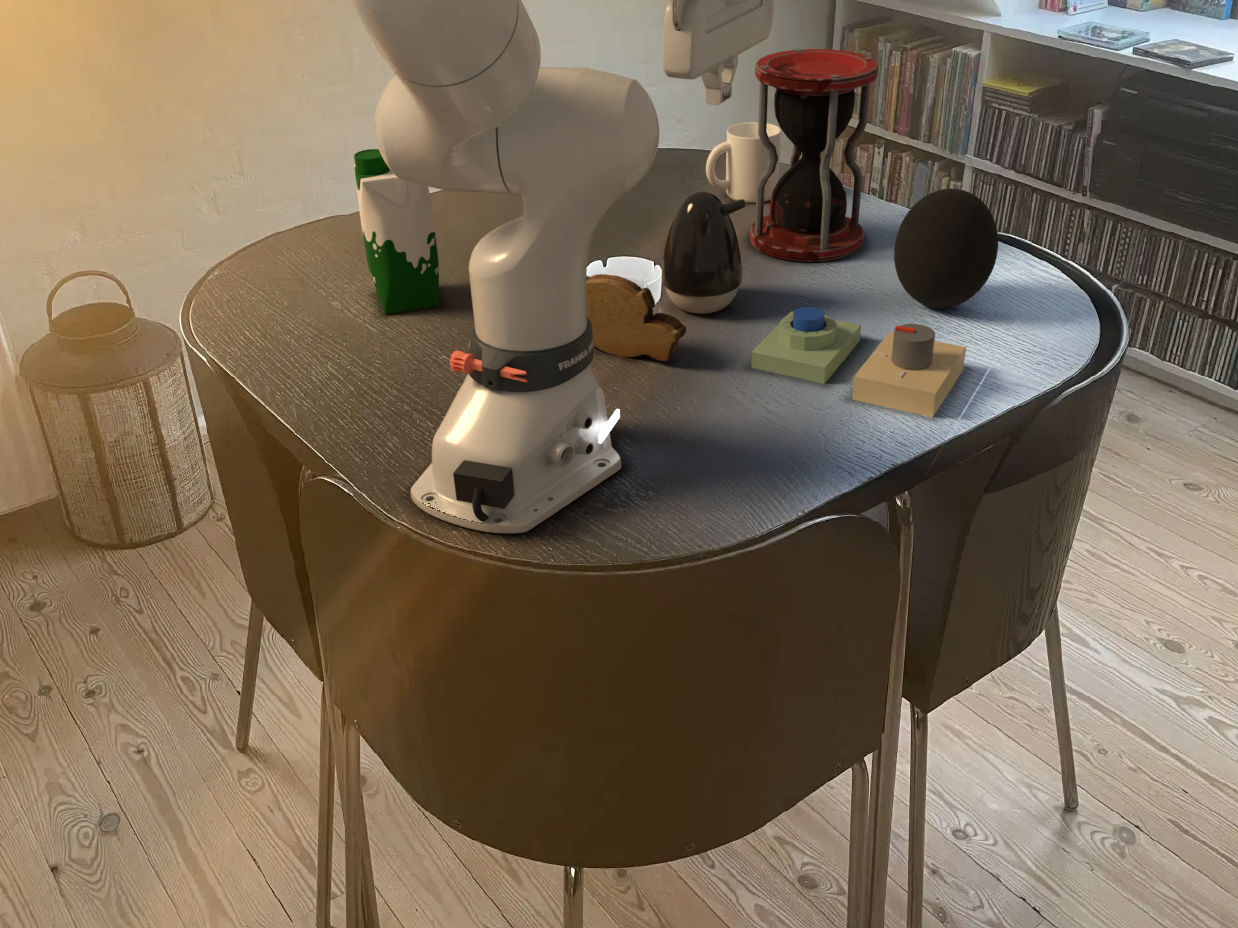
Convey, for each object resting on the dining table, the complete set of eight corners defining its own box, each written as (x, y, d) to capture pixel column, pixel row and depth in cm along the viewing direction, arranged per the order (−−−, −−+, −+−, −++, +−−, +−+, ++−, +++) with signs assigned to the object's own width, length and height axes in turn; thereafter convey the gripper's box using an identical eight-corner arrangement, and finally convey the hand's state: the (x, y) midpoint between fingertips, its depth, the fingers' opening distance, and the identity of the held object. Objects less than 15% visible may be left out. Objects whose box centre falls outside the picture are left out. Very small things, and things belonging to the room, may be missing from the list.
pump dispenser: (738, 325, 146) (740, 208, 138) (655, 320, 148) (653, 204, 140) (747, 291, 154) (750, 179, 146) (669, 287, 156) (668, 176, 148)
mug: (715, 210, 180) (716, 144, 174) (696, 193, 187) (696, 129, 181) (787, 199, 183) (790, 134, 177) (765, 183, 190) (767, 119, 184)
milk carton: (369, 292, 158) (346, 146, 147) (436, 282, 160) (418, 137, 149) (379, 319, 151) (355, 167, 140) (448, 308, 153) (430, 157, 142)
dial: (936, 356, 131) (940, 325, 129) (925, 373, 128) (929, 341, 126) (897, 348, 133) (901, 318, 131) (886, 365, 130) (889, 334, 128)
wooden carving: (692, 356, 139) (693, 278, 134) (677, 373, 136) (676, 294, 131) (570, 333, 146) (566, 257, 140) (553, 348, 142) (547, 272, 137)
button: (817, 336, 135) (818, 322, 134) (788, 330, 136) (788, 316, 136) (828, 323, 138) (829, 310, 137) (799, 318, 139) (800, 304, 138)
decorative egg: (926, 277, 157) (939, 167, 149) (1008, 304, 149) (1026, 189, 141) (869, 305, 150) (879, 191, 142) (951, 335, 142) (967, 217, 134)
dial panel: (932, 417, 126) (936, 392, 124) (852, 399, 130) (854, 374, 128) (963, 370, 134) (966, 345, 133) (886, 354, 138) (889, 330, 137)
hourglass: (736, 226, 174) (740, 53, 161) (840, 216, 176) (852, 44, 163) (769, 268, 161) (776, 82, 147) (880, 256, 163) (898, 72, 150)
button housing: (824, 384, 133) (826, 352, 131) (751, 368, 137) (752, 337, 134) (860, 341, 141) (862, 311, 139) (790, 327, 145) (791, 297, 143)
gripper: (704, -15, 110) (703, 131, 118) (787, -51, 125) (781, 81, 133) (645, -19, 113) (647, 124, 120) (733, -54, 128) (730, 76, 135)
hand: (718, 101), depth 127 cm, fingers closed
